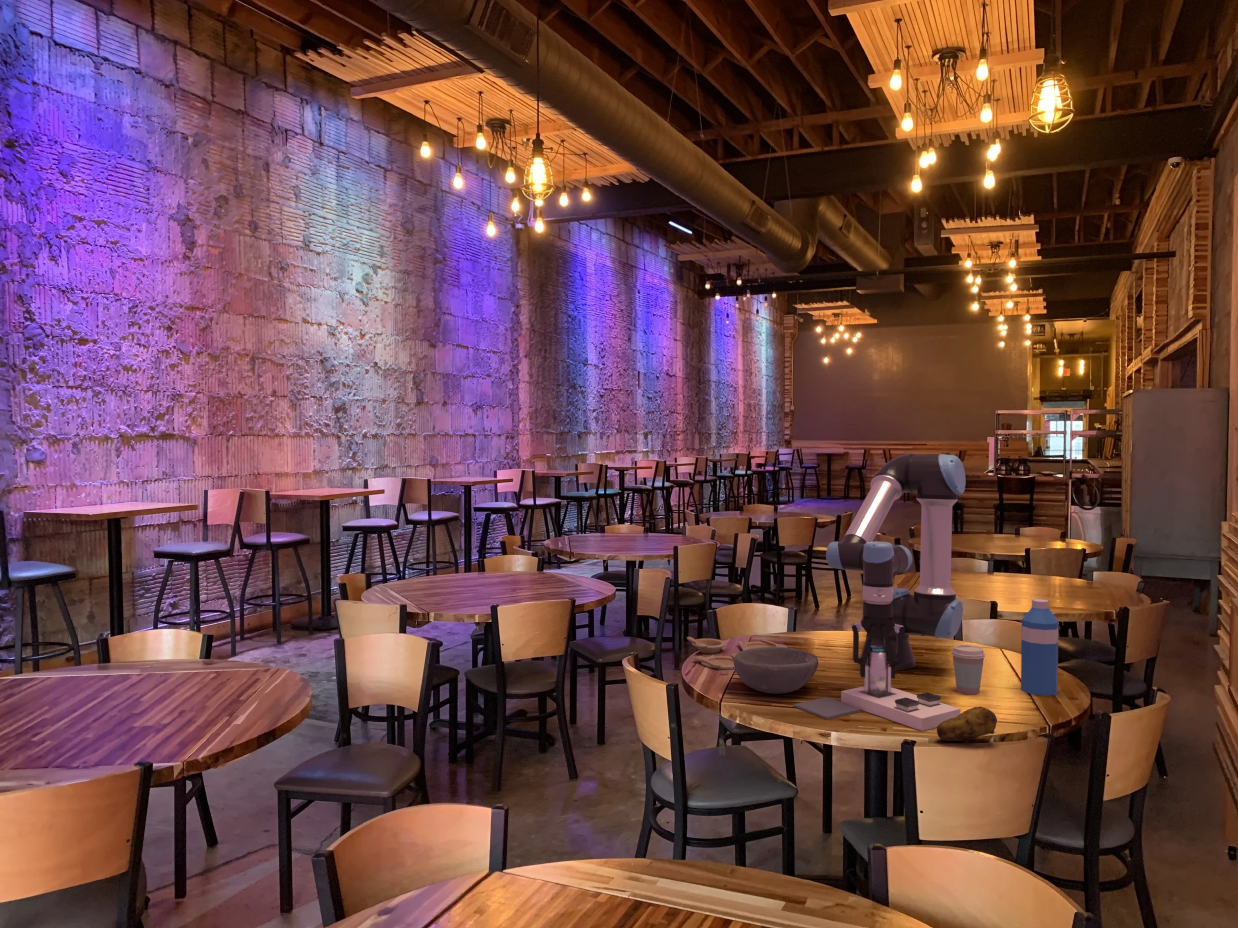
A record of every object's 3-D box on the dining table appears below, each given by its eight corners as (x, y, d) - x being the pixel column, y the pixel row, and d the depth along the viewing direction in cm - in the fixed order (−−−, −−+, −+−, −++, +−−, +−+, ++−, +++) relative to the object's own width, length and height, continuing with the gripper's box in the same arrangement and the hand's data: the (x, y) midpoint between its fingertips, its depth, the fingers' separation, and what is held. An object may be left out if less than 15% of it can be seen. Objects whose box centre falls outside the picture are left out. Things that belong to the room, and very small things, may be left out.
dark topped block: (916, 708, 217) (916, 694, 217) (927, 705, 219) (927, 692, 219) (929, 712, 213) (930, 698, 213) (940, 709, 215) (940, 696, 215)
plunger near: (894, 713, 212) (894, 699, 212) (905, 710, 215) (906, 697, 214) (907, 717, 209) (908, 704, 209) (919, 715, 211) (919, 701, 211)
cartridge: (867, 706, 223) (868, 648, 223) (866, 700, 228) (867, 644, 228) (887, 707, 222) (888, 649, 222) (886, 701, 227) (886, 645, 226)
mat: (793, 706, 223) (793, 704, 223) (827, 699, 229) (827, 696, 229) (827, 719, 213) (827, 716, 213) (861, 711, 219) (861, 708, 219)
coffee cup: (983, 688, 239) (983, 645, 239) (985, 697, 231) (986, 652, 231) (950, 685, 242) (950, 643, 241) (951, 694, 234) (952, 650, 233)
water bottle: (1062, 696, 231) (1063, 604, 230) (1025, 694, 233) (1026, 602, 232) (1052, 686, 240) (1053, 597, 239) (1016, 685, 242) (1017, 596, 241)
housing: (841, 702, 227) (841, 691, 226) (878, 694, 234) (878, 683, 234) (921, 730, 204) (922, 718, 204) (960, 720, 212) (960, 708, 211)
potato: (936, 732, 203) (936, 698, 203) (995, 738, 199) (995, 704, 199) (936, 744, 196) (936, 709, 195) (998, 751, 191) (998, 715, 191)
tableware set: (704, 672, 257) (704, 659, 257) (675, 649, 286) (675, 637, 286) (812, 665, 265) (812, 652, 265) (773, 643, 294) (773, 631, 294)
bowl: (765, 673, 254) (766, 640, 254) (832, 689, 238) (833, 653, 238) (716, 689, 238) (716, 654, 238) (784, 707, 222) (784, 669, 222)
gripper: (843, 603, 222) (843, 692, 223) (916, 605, 219) (915, 695, 220) (841, 597, 229) (840, 684, 230) (911, 599, 227) (910, 687, 227)
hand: (877, 689), depth 225 cm, fingers closed on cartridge, 5 cm apart
